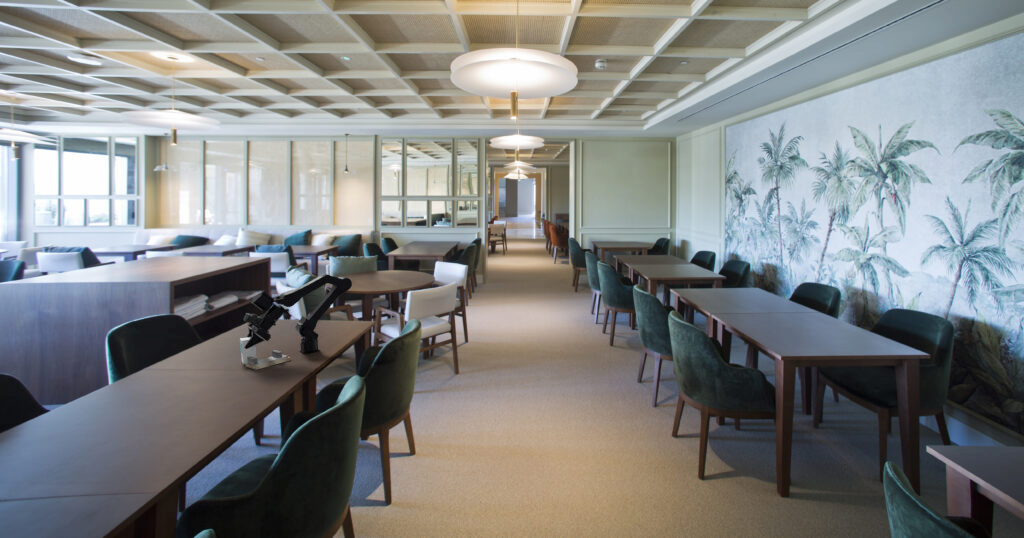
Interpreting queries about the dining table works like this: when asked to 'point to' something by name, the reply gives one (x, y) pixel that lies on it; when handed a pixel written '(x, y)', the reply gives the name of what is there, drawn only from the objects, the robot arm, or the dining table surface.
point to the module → (246, 350)
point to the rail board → (267, 360)
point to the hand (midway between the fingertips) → (244, 347)
